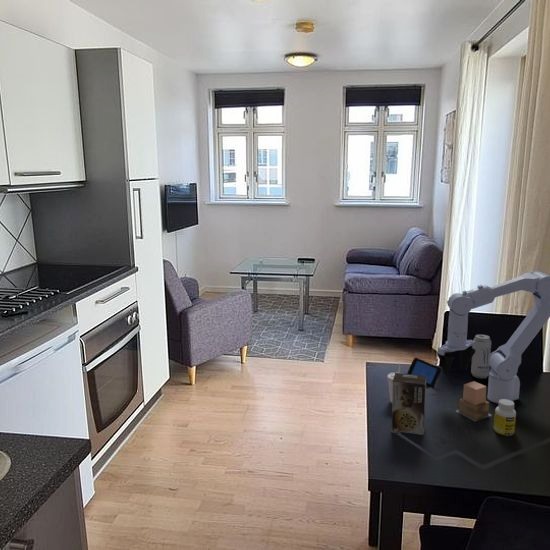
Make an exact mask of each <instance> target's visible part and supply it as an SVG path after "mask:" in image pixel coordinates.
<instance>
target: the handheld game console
mask: <svg viewBox="0 0 550 550" xmlns="http://www.w3.org/2000/svg"><path fill="white" fill-rule="evenodd" d="M441 373H442V368H441V367H439V366H437V365H435V364H433V363H430V362H428V361H425V360H423V359H420V358H418V357H415V358H413V360H412V362H411V364H410V366H409V369H408V371H407V373H406V374H413V375H423V376H426V390H428V389H429V388H432V389H433V388H435V386H436V384H437V381H438V379H439V376H440V375H441Z"/></svg>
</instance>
